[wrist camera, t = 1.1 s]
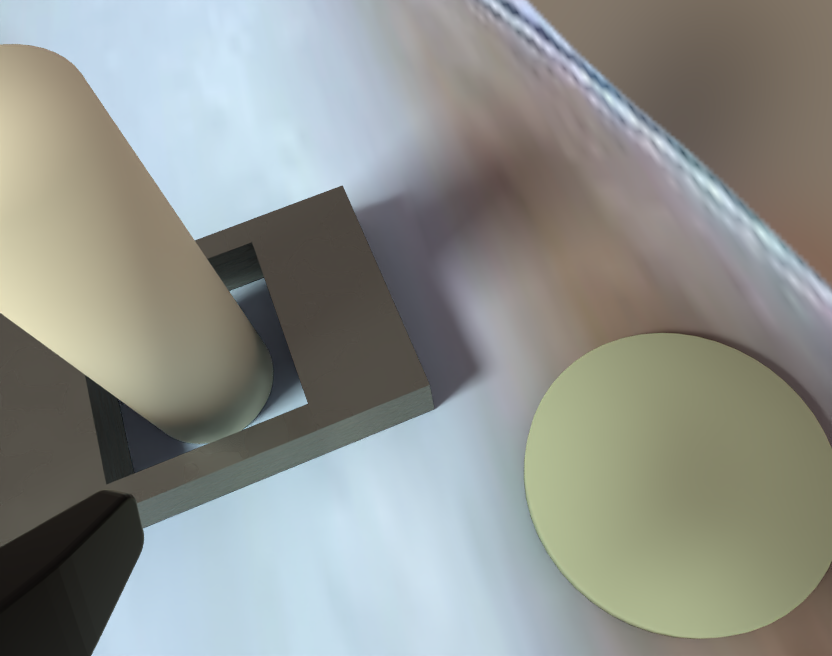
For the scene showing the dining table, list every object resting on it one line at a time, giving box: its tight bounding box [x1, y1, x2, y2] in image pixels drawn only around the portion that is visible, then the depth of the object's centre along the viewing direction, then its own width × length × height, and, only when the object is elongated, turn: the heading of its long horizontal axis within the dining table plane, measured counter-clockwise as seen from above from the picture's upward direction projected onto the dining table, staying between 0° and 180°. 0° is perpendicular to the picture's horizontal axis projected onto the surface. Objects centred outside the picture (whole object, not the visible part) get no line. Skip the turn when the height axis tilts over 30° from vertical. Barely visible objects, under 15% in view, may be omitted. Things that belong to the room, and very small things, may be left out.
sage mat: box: [524, 333, 832, 639], centre depth 24 cm, size 10×10×1 cm
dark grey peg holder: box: [0, 186, 434, 546], centre depth 26 cm, size 15×9×2 cm, turn 112°
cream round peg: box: [0, 44, 274, 444], centre depth 21 cm, size 5×5×14 cm
